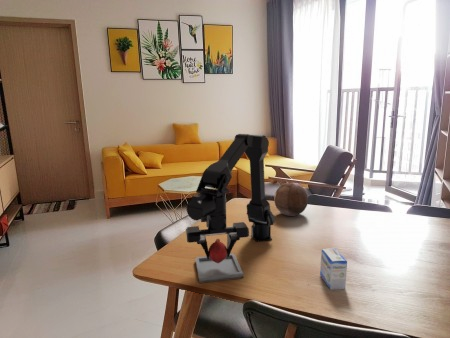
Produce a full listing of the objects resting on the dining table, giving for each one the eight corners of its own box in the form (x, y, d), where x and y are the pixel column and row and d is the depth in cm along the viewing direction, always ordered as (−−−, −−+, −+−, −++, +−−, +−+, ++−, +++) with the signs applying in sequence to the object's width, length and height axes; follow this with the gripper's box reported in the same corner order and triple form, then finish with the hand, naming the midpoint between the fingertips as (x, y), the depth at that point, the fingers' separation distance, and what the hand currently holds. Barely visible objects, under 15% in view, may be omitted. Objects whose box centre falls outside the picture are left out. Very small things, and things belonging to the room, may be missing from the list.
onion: (225, 268, 97) (224, 243, 96) (206, 266, 98) (205, 242, 97) (228, 259, 103) (228, 235, 101) (211, 258, 104) (210, 234, 102)
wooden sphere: (310, 211, 151) (311, 180, 148) (303, 222, 138) (304, 188, 134) (279, 208, 157) (279, 178, 154) (269, 218, 144) (270, 185, 141)
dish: (234, 257, 108) (234, 253, 108) (243, 277, 96) (243, 273, 96) (195, 261, 106) (195, 257, 106) (199, 282, 94) (199, 278, 93)
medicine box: (319, 275, 96) (320, 248, 95) (334, 274, 97) (335, 247, 95) (330, 290, 89) (331, 261, 87) (345, 289, 89) (347, 260, 87)
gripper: (240, 199, 106) (241, 243, 110) (183, 204, 103) (186, 249, 106) (249, 210, 96) (249, 259, 99) (186, 216, 92) (188, 265, 96)
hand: (218, 257), depth 100 cm, fingers closed on onion, 6 cm apart
